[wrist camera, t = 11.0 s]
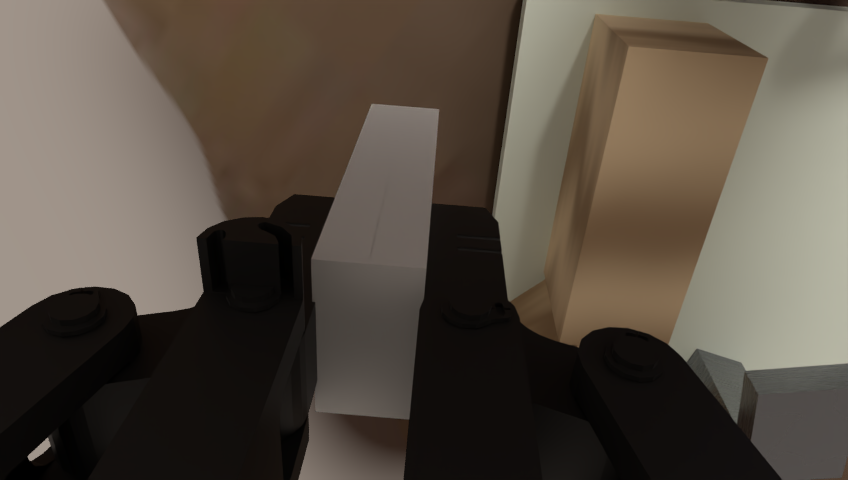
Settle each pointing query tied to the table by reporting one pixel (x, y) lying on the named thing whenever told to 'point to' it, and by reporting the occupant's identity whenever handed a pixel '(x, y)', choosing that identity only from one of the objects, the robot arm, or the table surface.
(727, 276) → the board
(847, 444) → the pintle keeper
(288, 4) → the table surface
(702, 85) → the link
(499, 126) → the table surface
